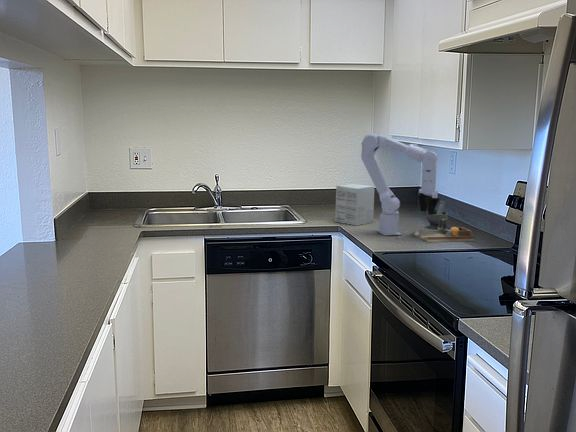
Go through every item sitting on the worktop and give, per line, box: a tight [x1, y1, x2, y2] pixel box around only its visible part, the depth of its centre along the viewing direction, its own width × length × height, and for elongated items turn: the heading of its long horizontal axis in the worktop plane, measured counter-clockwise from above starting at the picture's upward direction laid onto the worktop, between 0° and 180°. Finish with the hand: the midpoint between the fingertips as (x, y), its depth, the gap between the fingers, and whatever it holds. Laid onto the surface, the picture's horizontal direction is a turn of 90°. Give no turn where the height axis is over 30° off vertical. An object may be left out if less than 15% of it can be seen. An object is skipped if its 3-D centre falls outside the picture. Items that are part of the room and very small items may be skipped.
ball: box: [449, 226, 459, 236], centre depth 242 cm, size 4×4×4 cm
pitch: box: [412, 226, 475, 243], centre depth 244 cm, size 16×20×4 cm
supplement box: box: [334, 183, 375, 226], centre depth 274 cm, size 13×13×18 cm
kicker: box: [436, 218, 452, 236], centre depth 244 cm, size 9×3×6 cm, turn 10°
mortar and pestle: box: [426, 200, 449, 230], centre depth 265 cm, size 11×9×12 cm
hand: (426, 212), depth 243 cm, fingers open, 7 cm apart
